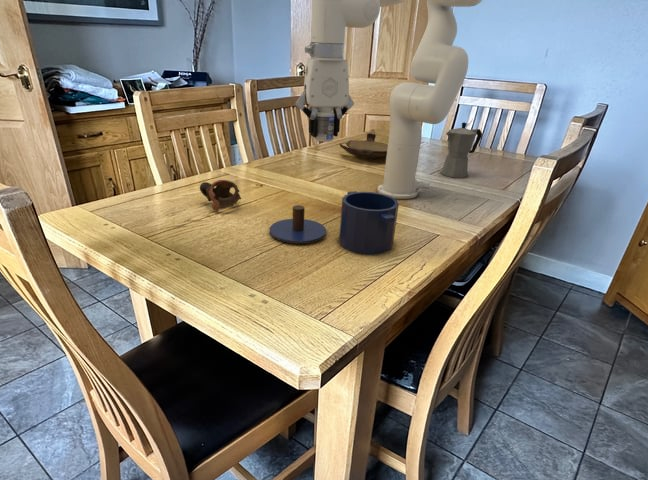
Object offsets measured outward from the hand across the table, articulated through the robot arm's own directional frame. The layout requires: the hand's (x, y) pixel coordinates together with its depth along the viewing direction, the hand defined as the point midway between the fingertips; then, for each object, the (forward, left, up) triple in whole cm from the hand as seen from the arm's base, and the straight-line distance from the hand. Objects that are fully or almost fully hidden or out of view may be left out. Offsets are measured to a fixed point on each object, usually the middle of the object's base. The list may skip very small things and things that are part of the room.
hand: (323, 134), depth 108 cm
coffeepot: (-53, -43, -21) cm, 71 cm away
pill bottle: (0, 0, -1) cm, 1 cm away
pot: (-10, +18, -21) cm, 29 cm away
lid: (+6, +13, -20) cm, 25 cm away
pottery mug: (+27, -5, -21) cm, 35 cm away
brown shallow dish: (-25, -66, -21) cm, 73 cm away
